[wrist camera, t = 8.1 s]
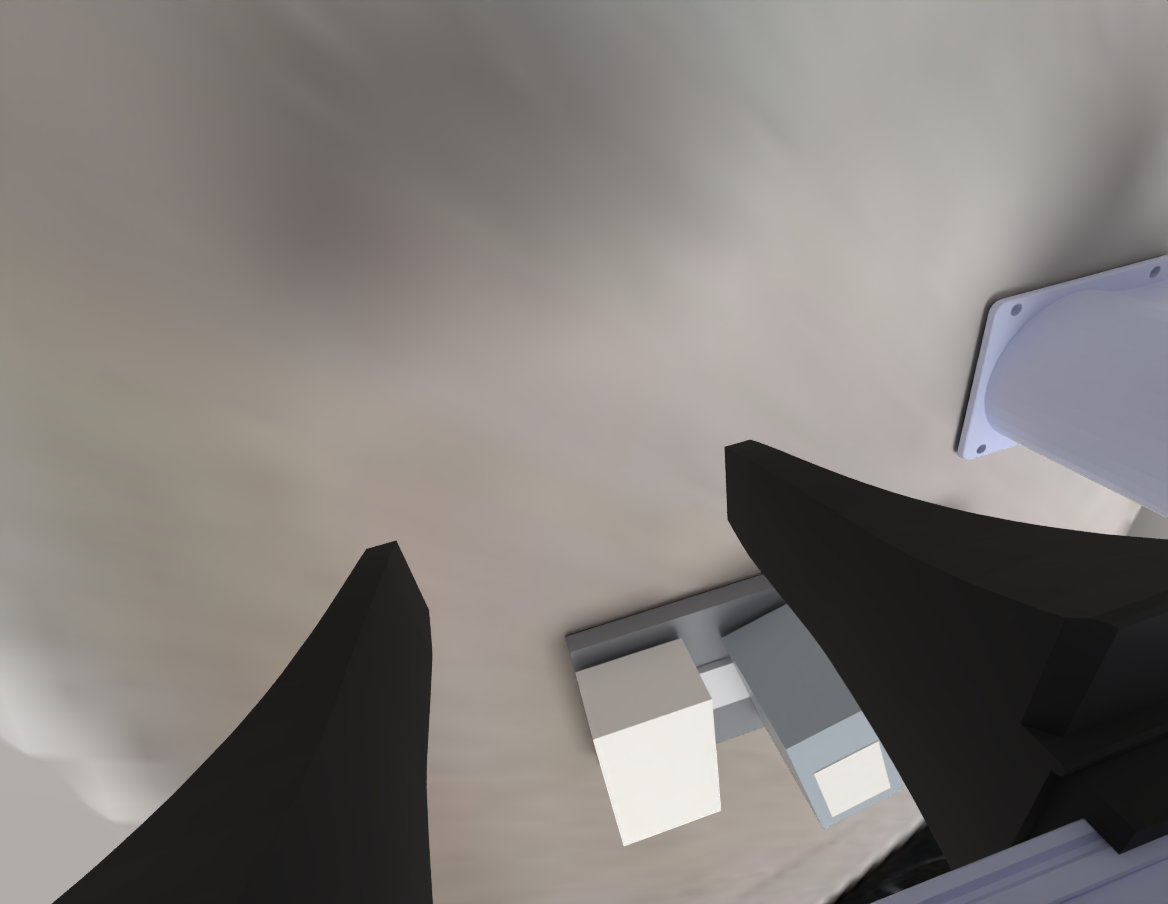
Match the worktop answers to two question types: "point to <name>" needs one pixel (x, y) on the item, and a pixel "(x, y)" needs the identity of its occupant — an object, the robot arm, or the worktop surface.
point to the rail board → (694, 634)
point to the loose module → (812, 717)
